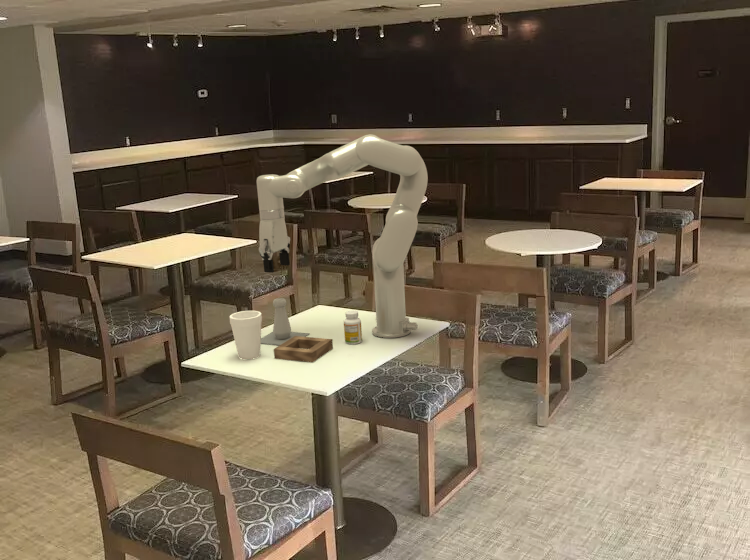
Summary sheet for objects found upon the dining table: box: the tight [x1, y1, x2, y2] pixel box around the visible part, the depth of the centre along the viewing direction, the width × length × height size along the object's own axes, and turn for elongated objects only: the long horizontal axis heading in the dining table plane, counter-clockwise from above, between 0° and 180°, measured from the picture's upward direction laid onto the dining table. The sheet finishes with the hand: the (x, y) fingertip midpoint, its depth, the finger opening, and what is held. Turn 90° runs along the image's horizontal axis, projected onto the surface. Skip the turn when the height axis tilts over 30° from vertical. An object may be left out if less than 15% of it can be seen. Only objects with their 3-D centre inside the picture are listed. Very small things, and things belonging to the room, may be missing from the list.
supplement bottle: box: [343, 310, 363, 345], centre depth 239 cm, size 5×5×10 cm
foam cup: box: [229, 310, 263, 360], centre depth 230 cm, size 10×9×13 cm
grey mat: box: [260, 331, 310, 347], centre depth 247 cm, size 13×13×1 cm
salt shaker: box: [272, 297, 292, 340], centre depth 245 cm, size 6×6×13 cm
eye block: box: [273, 336, 334, 363], centre depth 231 cm, size 13×13×3 cm
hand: (277, 268), depth 241 cm, fingers open, 9 cm apart
